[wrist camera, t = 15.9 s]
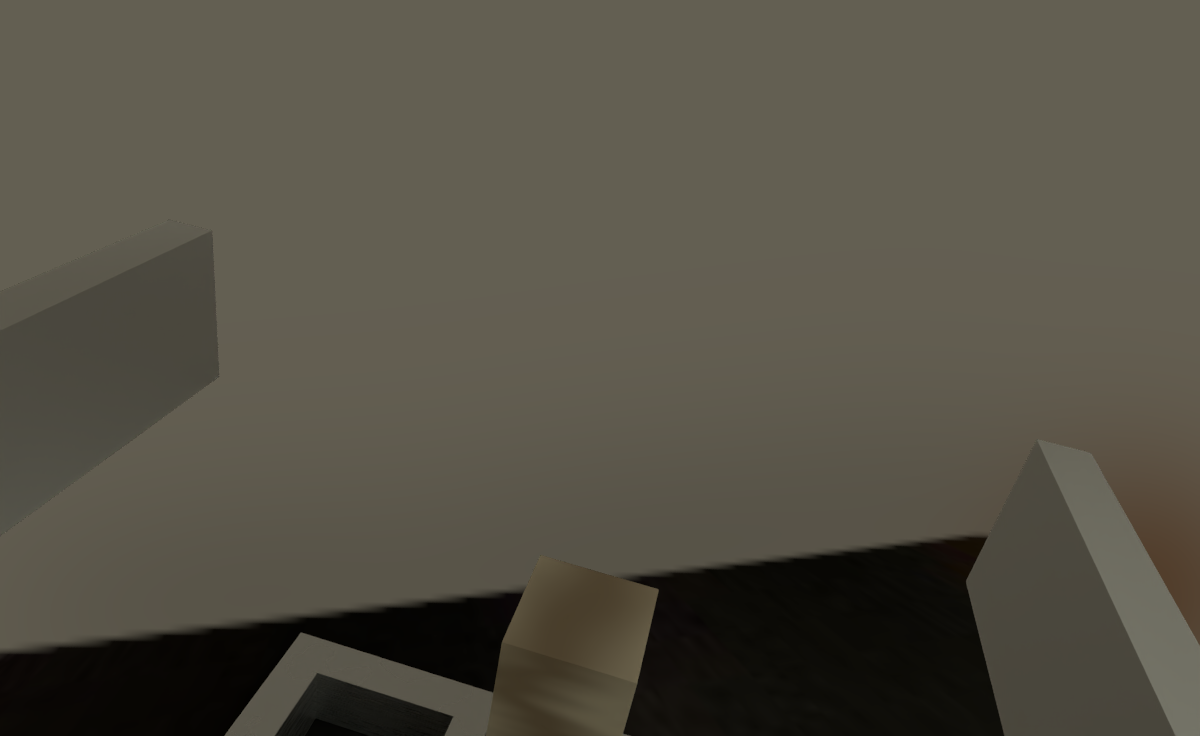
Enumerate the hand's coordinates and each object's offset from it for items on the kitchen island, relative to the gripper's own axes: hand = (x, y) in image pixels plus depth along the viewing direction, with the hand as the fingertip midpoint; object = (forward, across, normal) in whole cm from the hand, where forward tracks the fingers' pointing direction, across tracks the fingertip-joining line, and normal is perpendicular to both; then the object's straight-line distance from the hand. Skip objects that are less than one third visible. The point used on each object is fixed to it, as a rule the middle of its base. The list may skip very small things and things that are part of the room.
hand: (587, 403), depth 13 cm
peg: (+10, 0, -28) cm, 29 cm away
